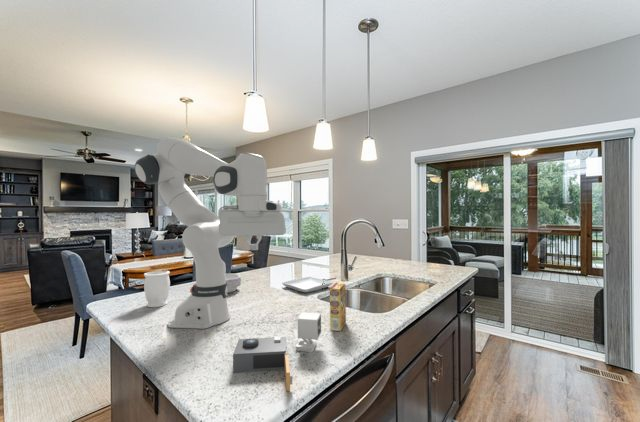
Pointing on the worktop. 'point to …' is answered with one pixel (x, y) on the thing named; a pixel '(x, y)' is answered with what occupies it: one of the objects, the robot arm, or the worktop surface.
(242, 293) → the worktop surface
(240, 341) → the grey knob box
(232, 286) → the paper bowls
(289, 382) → the door
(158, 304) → the jar
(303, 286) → the salad plate
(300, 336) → the security camera
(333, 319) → the candy box
